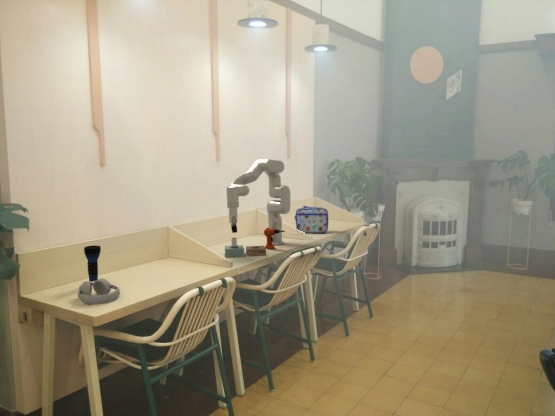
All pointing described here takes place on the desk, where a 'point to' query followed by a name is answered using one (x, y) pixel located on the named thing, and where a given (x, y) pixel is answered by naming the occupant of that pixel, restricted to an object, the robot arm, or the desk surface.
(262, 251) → the socket block
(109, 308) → the desk surface
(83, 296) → the headphones
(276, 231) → the toy drill
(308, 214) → the lunch box
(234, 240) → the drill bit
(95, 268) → the flashlight
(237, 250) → the rack holder
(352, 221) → the desk surface
